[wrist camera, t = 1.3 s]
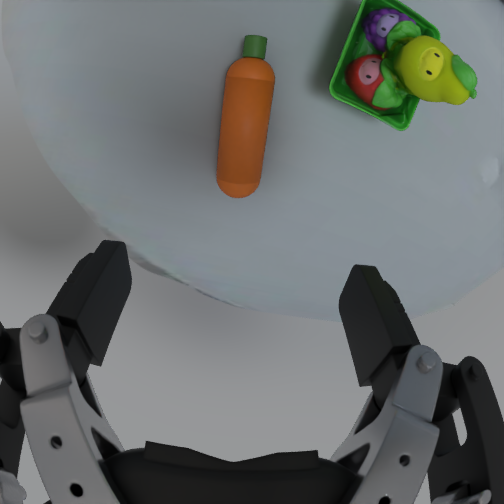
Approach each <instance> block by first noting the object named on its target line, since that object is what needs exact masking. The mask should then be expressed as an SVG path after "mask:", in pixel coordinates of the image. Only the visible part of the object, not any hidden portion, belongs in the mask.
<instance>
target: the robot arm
mask: <svg viewBox="0 0 504 504" xmlns="http://www.w3.org/2000/svg"><path fill="white" fill-rule="evenodd" d="M131 284H132V276H131V271H130V265H129V260H128V254H127V249H126V245H125V243H124V242H121V241H111V240H103V241H102V242H101V244H100V245H99V246H98V248H97V249H96V251H95V252H94V253H89V254H88V255H86V256H85V257H84V258H83V259H81V260H80V261H79V262H78V264H77V265H76V266H75V268H74V270H73V271H72V273H71V274H70V275H69V277H68V278H67V282H65V283H64V285H63V286H62V288H61V289H60V291H59V292H58V294H57V296H56V297H55V299H54V301H53V302H52V304H51V306H50V307H49V309H48V311H47V312H46V314H39V315H36V316H34V317H32V318H30V319H29V320H28V321H27V322H26V323H25V324H24V325H23V327H22V328H10V329H5V328H4V326H3V325H2V323H1V322H0V377H1V378H2V381H1V384H0V504H23V500H25V499H26V491H25V489H24V488H23V487H22V486H21V485H19V482H18V480H17V474H18V467H19V461H20V455H21V450H22V444H23V440H24V434H25V431H26V435H27V438H28V442H29V445H30V449H31V451H32V455H33V458H34V461H35V463H36V466H37V469H38V471H39V474H40V477H41V479H42V482H43V484H44V487H45V489H46V491H47V493H48V496H49V498H50V500H49V501H47V502H46V503H44V504H413V503H414V501H415V499H416V497H417V494H418V493H419V490H420V488H421V485H422V483H423V480H424V478H425V476H426V473H428V481H429V489H430V499H431V504H504V422H503V418H502V415H501V411H500V408H499V405H498V402H497V399H496V396H495V393H494V390H493V388H492V385H491V382H490V380H489V377H488V375H487V372H486V370H485V367H484V366H483V364H482V363H481V362H480V361H479V360H478V359H476V358H475V357H472V356H467V357H465V358H464V359H463V360H462V361H461V362H460V363H459V364H458V365H453V364H448V363H444V362H442V361H441V358H440V357H439V355H438V354H437V353H436V352H435V351H434V350H433V349H431V348H430V347H428V346H425V345H421V344H420V342H419V340H418V337H417V335H416V333H415V331H414V328H413V326H412V324H411V322H410V320H409V318H408V316H407V313H405V309H404V307H403V305H402V304H400V302H401V301H400V299H399V297H398V295H397V293H396V291H395V290H394V289H393V288H392V287H391V286H390V285H389V284H388V283H387V282H386V281H383V279H382V277H381V275H380V273H379V271H378V270H377V268H376V267H375V266H368V265H357V264H356V265H354V266H353V268H352V270H351V272H350V274H349V277H348V279H347V281H346V284H345V286H344V288H343V291H342V293H341V295H340V299H339V312H340V316H341V319H342V323H343V326H344V329H345V333H346V337H347V340H348V344H349V347H350V351H351V355H352V358H353V362H354V366H355V370H356V374H357V378H358V382H359V386H360V387H362V386H372V390H373V391H372V392H371V393H370V395H369V397H368V399H367V401H366V403H365V405H364V407H363V409H362V411H361V413H360V415H359V417H358V419H357V421H356V422H355V424H354V426H353V428H352V430H351V432H350V433H349V435H348V437H347V438H346V439H345V441H344V442H343V443H342V444H341V445H340V446H339V447H338V449H337V450H336V451H335V452H334V454H333V455H332V457H331V459H330V460H327V459H323V458H318V450H313V451H302V452H281V453H274V454H270V455H266V456H261V457H257V458H253V459H248V460H243V461H238V462H230V461H226V460H222V459H219V458H216V457H213V456H209V455H206V454H203V453H200V452H198V451H195V450H192V449H189V448H184V447H177V446H171V445H165V444H159V443H155V442H150V441H146V444H145V448H137V449H130V450H126V451H125V450H124V448H123V446H122V445H121V442H120V441H119V439H118V437H117V435H116V434H115V433H114V431H113V429H112V428H111V426H110V425H109V423H108V421H107V419H106V417H105V415H104V413H103V410H102V408H101V406H100V403H99V401H98V398H97V396H96V393H95V391H94V388H93V385H92V383H91V380H90V377H89V375H88V373H87V370H88V367H89V364H93V365H97V366H101V365H102V362H103V359H104V357H105V354H106V351H107V348H108V345H109V343H110V340H111V338H112V335H113V332H114V330H115V327H116V325H117V322H118V320H119V317H120V315H121V312H122V310H123V307H124V305H125V303H126V300H127V298H128V296H129V293H130V290H131ZM459 408H461V412H462V415H463V419H464V423H465V426H466V430H467V439H466V441H465V443H464V444H463V445H462V446H460V444H459V440H458V435H457V431H456V427H455V423H454V419H453V416H452V413H454V412H455V411H456V410H458V409H459Z"/></svg>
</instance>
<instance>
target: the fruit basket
mask: <svg viewBox="0 0 504 504" xmlns="http://www.w3.org/2000/svg"><path fill="white" fill-rule="evenodd" d="M476 85H477V77H476V74H475V72H474V71H473V69H472V68H471V67H470V66H469V65H468V64H466V63H465V62H463V61H462V59H461V58H460V57H459V55H454V54H453V53H452V52H451V51H450V50H449V49H448V48H447V47H446V46H445V45H444V44H443V43H441V42H440V33H439V31H438V29H437V28H436V27H435V26H434V25H432V24H431V23H430V22H428V21H427V20H426V19H424V18H423V17H422V16H421V15H419V14H418V13H416V12H415V11H413V10H412V9H411V8H409V7H407V6H406V5H404V4H403V3H401V2H400V1H398V0H362V2H361V4H360V7H359V9H358V12H357V14H356V16H355V19H354V22H353V24H352V27H351V29H350V32H349V34H348V37H347V39H346V42H345V45H344V47H343V50H342V53H341V56H340V58H339V61H338V63H337V66H336V68H335V71H334V73H333V76H332V78H331V81H330V84H329V91H330V94H331V95H332V96H333V97H334V98H335V99H337V100H339V101H342V102H344V103H346V104H349V105H351V106H353V107H355V108H357V109H359V110H361V111H363V112H366V113H367V114H369V115H371V116H373V117H375V118H377V119H379V120H381V121H382V122H384V123H386V124H388V125H389V126H391V127H393V128H394V129H396V130H399V131H403V130H405V129H407V128H408V127H409V124H410V122H411V120H412V117H413V115H414V112H415V110H416V107H417V105H418V102H419V100H420V99H422V100H425V101H429V102H447V103H450V104H453V105H460V104H462V103H464V102H465V101H466V100H467V99H468V98H469V97H471V98H473V99H474V98H475V97H476V95H477V92H476V90H475V89H474V88H475V87H476Z"/></svg>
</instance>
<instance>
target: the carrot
mask: <svg viewBox="0 0 504 504" xmlns="http://www.w3.org/2000/svg"><path fill="white" fill-rule="evenodd" d="M266 45H267V38H266V37H263V36H257V35H247V36H245V41H244V48H243V56H242V57H244V58H241V59H239V60H237V61H235V62H234V63H233V64H232V65H231V66H230V68H229V70H228V72H227V75H226V82H225V91H224V99H223V109H222V118H221V128H220V139H219V150H218V162H217V174H216V175H217V183H218V185H219V187H220V189H221V190H222V191H223V192H224V193H225V194H226V195H228V196H230V197H233V198H243V197H247V196H249V195H250V194H252V193H253V192H254V191H255V190H256V189H257V187H258V185H259V183H260V179H261V172H262V165H263V158H264V151H265V145H266V138H267V131H268V124H269V117H270V111H271V104H272V97H273V90H274V84H275V75H274V72H273V69H272V68H271V66H270V65H269V64H268V63H267V62H266V61H264V60H263V59H265V52H266Z"/></svg>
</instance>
